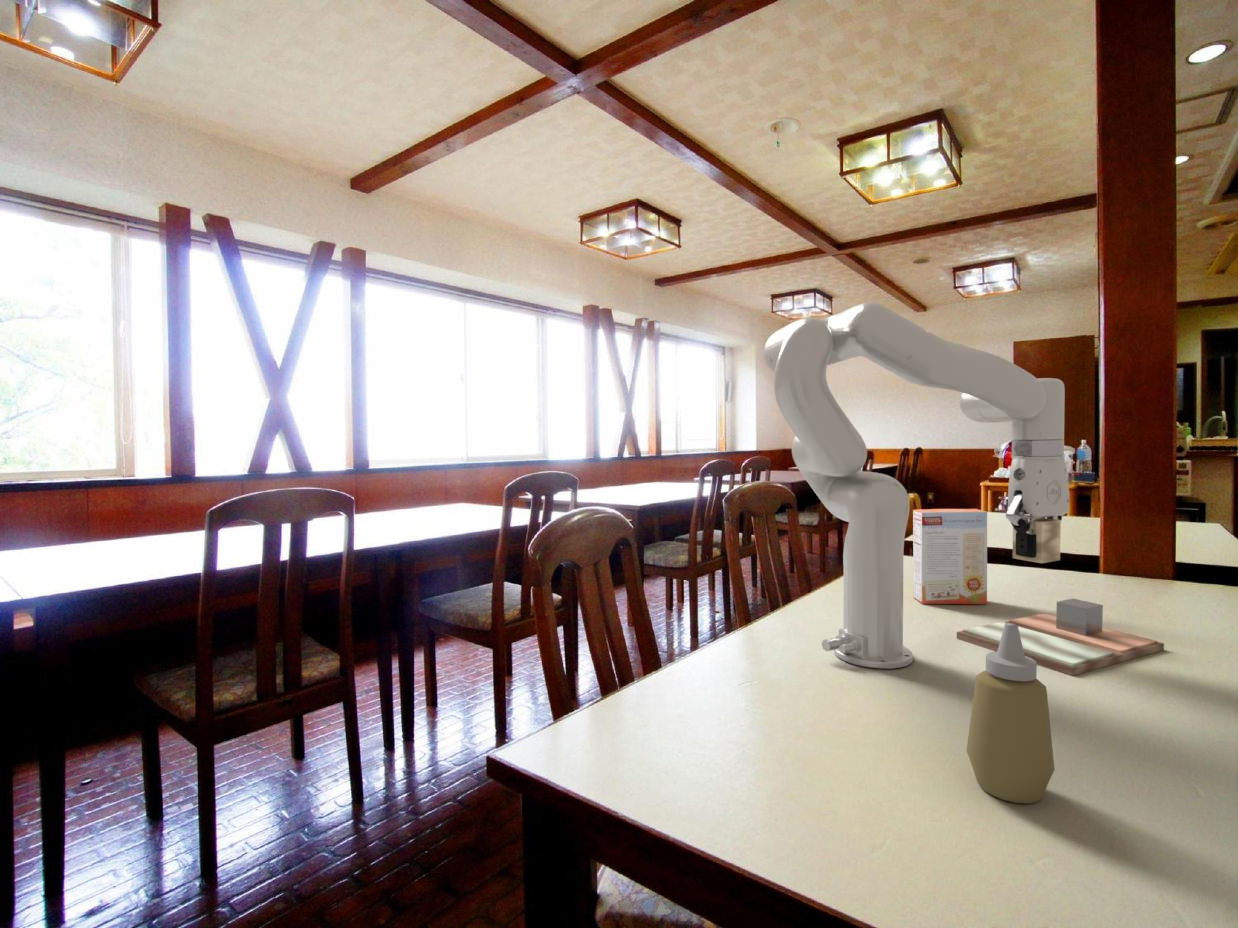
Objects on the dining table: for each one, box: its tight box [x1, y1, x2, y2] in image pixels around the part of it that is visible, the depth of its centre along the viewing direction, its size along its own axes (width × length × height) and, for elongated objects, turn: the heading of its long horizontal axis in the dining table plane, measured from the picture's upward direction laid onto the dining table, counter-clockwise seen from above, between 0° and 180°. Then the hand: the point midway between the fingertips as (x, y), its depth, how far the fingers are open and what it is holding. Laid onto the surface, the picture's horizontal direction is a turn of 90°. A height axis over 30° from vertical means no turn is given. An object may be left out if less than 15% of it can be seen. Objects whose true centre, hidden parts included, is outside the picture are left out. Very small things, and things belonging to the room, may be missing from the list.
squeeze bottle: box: [966, 623, 1055, 805], centre depth 67 cm, size 8×8×18 cm
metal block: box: [1055, 598, 1104, 636], centre depth 114 cm, size 5×5×5 cm
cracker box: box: [912, 508, 988, 605], centre depth 140 cm, size 14×6×21 cm, turn 84°
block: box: [1012, 517, 1062, 564], centre depth 108 cm, size 5×5×7 cm
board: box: [956, 612, 1165, 677], centre depth 112 cm, size 26×20×2 cm
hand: (1036, 553), depth 109 cm, fingers closed on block, 5 cm apart
